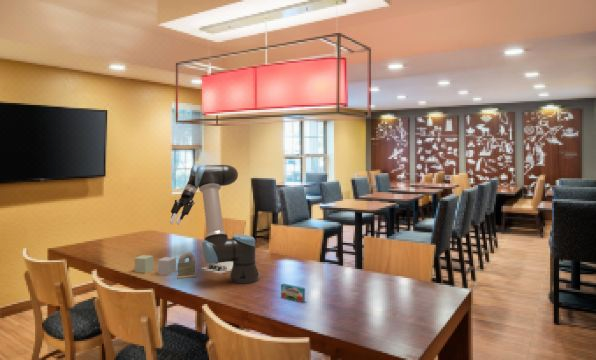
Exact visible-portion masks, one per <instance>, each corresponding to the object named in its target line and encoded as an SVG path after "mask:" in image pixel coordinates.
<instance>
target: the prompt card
mask: <svg viewBox="0 0 596 360" xmlns="http://www.w3.org/2000/svg"><path fill="white" fill-rule="evenodd" d="M197 276H198V275H197V272H196V260H195V261H191V262H189V261H185V262H180V263H179V262H177V274H176V279H177V280H179V279H181V280H182V279H190V278H197Z"/></svg>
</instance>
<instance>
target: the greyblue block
mask: <svg viewBox="0 0 596 360" xmlns="http://www.w3.org/2000/svg"><path fill="white" fill-rule="evenodd" d="M175 273H177V258H176V257H171V256H169V257H168V256H164V257H162V258H160V259H157V275H159V276H162V275H163V276H171V275H173V274H175Z"/></svg>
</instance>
